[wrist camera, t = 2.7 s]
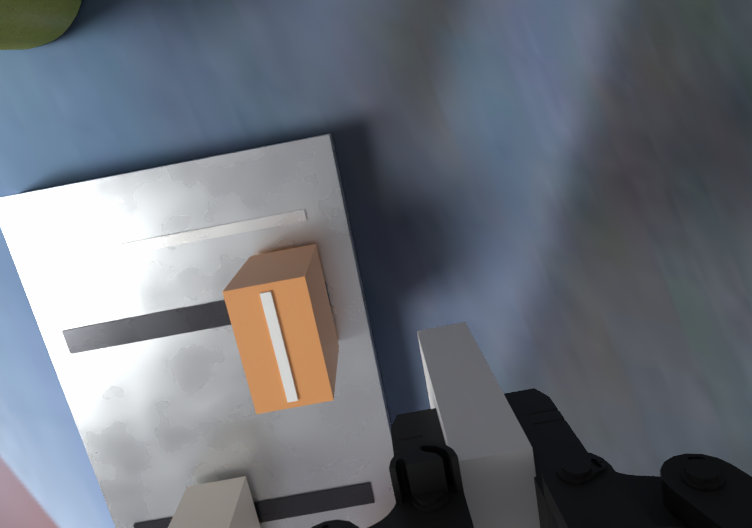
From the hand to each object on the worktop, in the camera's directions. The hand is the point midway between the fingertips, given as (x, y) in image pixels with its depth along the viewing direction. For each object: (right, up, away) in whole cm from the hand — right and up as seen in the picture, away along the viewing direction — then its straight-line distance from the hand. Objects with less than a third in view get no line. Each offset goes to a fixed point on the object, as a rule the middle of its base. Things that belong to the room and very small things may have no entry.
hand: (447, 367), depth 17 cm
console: (-9, -4, +12) cm, 16 cm away
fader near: (-6, +1, +8) cm, 10 cm away
